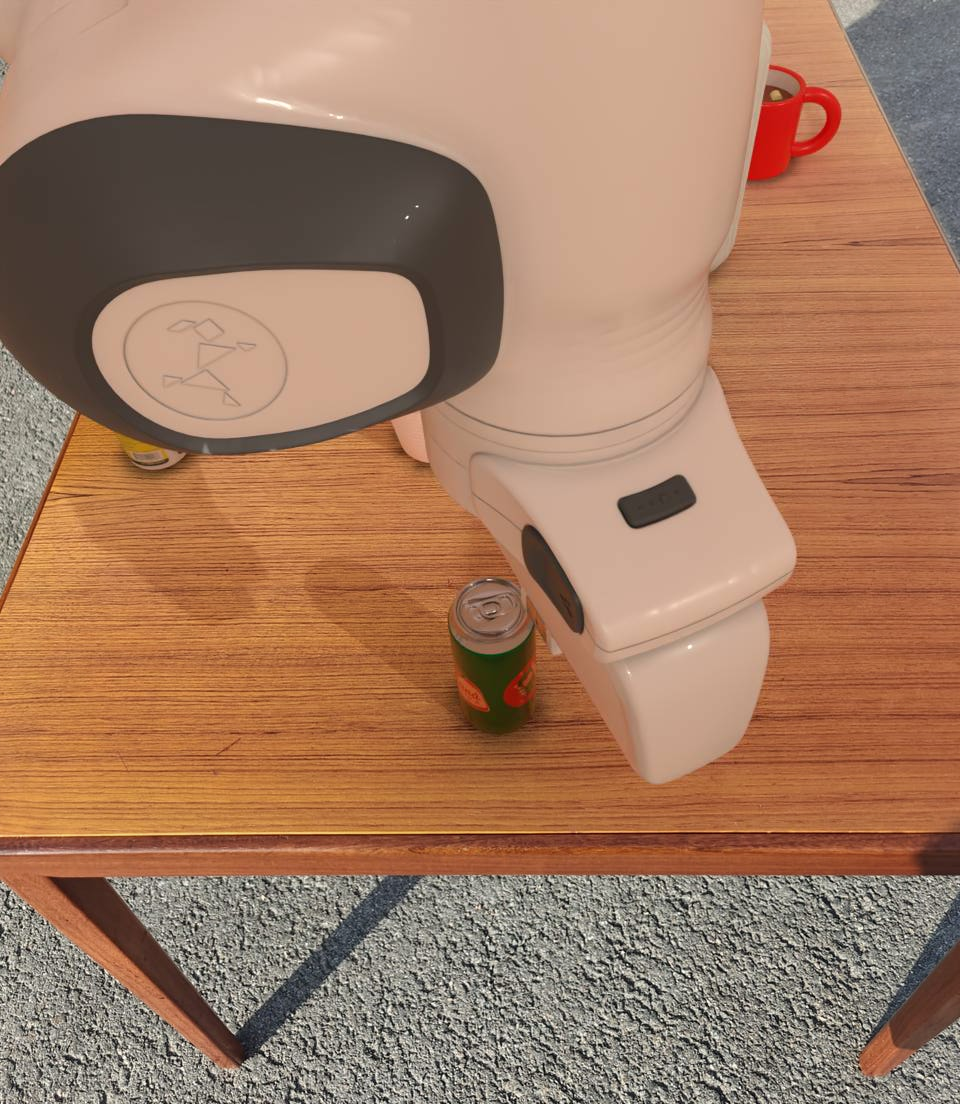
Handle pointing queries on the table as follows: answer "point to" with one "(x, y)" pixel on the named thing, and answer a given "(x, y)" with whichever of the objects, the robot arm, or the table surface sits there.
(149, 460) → the supplement bottle
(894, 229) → the table surface
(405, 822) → the table surface
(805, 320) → the table surface
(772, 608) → the table surface
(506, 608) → the soda can
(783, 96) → the mug
